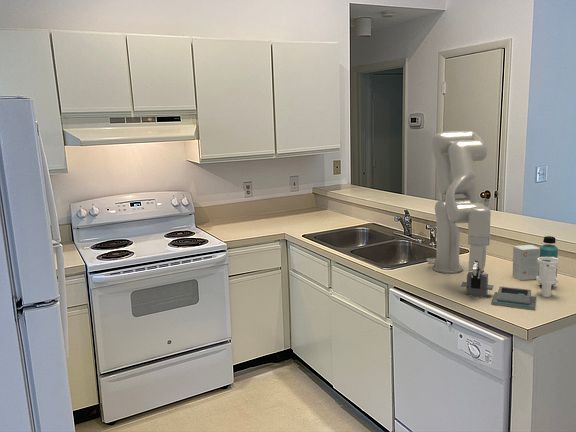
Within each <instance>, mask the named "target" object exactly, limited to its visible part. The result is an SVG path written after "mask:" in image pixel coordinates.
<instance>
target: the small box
mask: <svg viewBox="0 0 576 432" xmlns="http://www.w3.org/2000/svg"><path fill="white" fill-rule="evenodd" d="M512 249H513V250H512V251H513V252H512V255H513V256H512V272H511V273H512V274H511V275H512V277H514V278H515V279H517V280H519V281H529V280H536V277H537V276H538V272H539V263H538V262H537V258H539V257H540V255H539V254H540V247H538V246H537V245H534V244H523V245H522V244H521V245H513V248H512Z"/></svg>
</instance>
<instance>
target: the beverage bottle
mask: <svg viewBox="0 0 576 432" xmlns="http://www.w3.org/2000/svg"><path fill="white" fill-rule="evenodd" d="M542 242H543V244H542V245H541V246H540V247H539V248H540V254H539V255H540V257H555V258H558V257H559V255H558V254H559V248H558V247H557V246H556V245H555V244H556V237H555V236H552V235H551V236H549V235H548V236H544V237H543V241H542ZM541 261H545V262H551V260H541ZM554 262H555V261H554ZM539 265H540V263H539ZM541 265H542V264H541ZM547 267H549V265H548V264H547ZM555 269H556V278H557V279H558V273H557V272H558V268H555ZM538 276H539V272H538ZM538 284H539V285H542V283H539V282H538ZM556 285H557V284H551V287H554V286H556Z"/></svg>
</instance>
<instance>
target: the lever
mask: <svg viewBox="0 0 576 432" xmlns="http://www.w3.org/2000/svg"><path fill="white" fill-rule="evenodd" d="M471 277H472V271H468V272H467V274H466V281H462V283H461V284H460V287H463V288H466V290H465V291H466V296H469V295H472V296H471V297H477V296H479V297H478V298H485V297H486V298H487V296H488V291H493V289H494V287H495V285H494V284H489V273H487V272H486V271H484V272H480V278H481V283H480V289H476V288H471Z"/></svg>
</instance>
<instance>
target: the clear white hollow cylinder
mask: <svg viewBox="0 0 576 432" xmlns="http://www.w3.org/2000/svg"><path fill="white" fill-rule="evenodd" d="M541 260H551V262H545V261H541ZM554 261H555V262H554ZM537 262H538V263H540V265H539V276H537V277H536V279H535V280H536V282H538V284H539V283H542V284H541V292H540V293H541V296H542V297H544V298H549V297H551V295H552V286H551V284H556V285H557V284H559V279H558V277H557V278H556V269H555V268H557V269H559V264H560V258H555V257H539V258H537ZM541 264H542V265H541ZM547 264H548V265H549V267H547Z"/></svg>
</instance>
